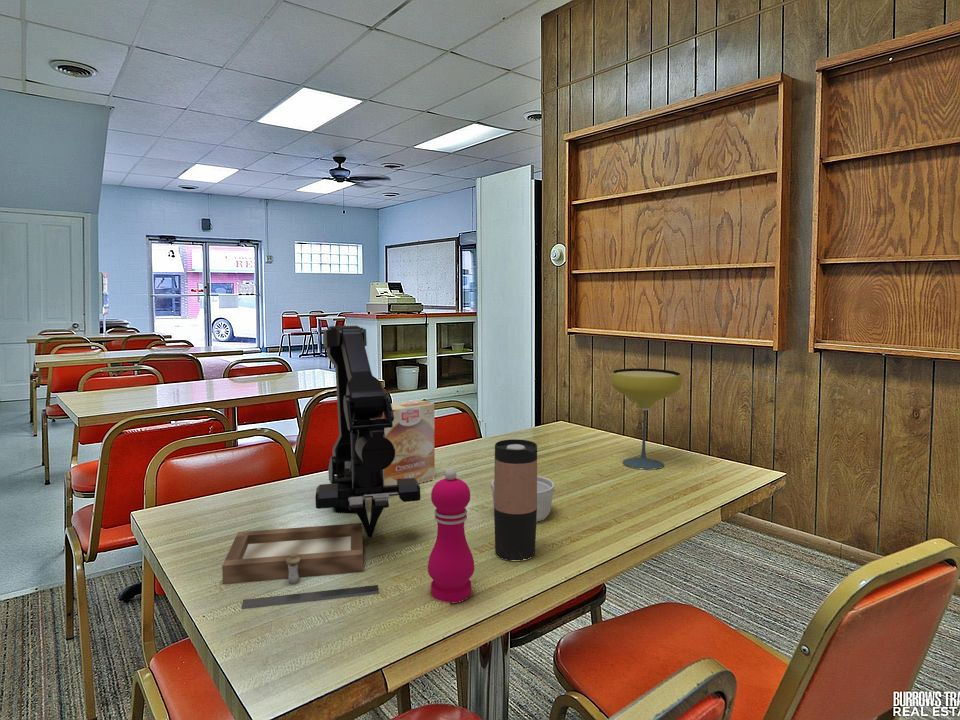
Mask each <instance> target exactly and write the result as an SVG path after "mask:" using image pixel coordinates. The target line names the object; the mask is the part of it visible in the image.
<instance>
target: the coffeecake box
mask: <svg viewBox="0 0 960 720" xmlns="http://www.w3.org/2000/svg"><path fill="white" fill-rule="evenodd" d="M391 406H392V410H393V415H394V420H393V421H392V424H393V427H390V428H384V433H385V436H386V437H387V438H388V439H389V440H390V441H391V443H392V444H393V446H394V448H395V457H394V460H393V462H392V463H391V464H390V465H389V466H388V467H387V468H385V469H383V473H384V486H387V485H397V479H404V478H415V479H416V480H417V481H418V483H420V484H424V483H427V482H426V481H428V482H430V480H432V481H434V480H433V479H435V478H436V476H435V475H436V474H435V469H436V468H435V464H436V461H435V459H436V458H435V457H436V454H435V448H436V447H435V444H436V443H435V429H436V428H435V403H434V402H431V401H426V400H421V399H415V400H408V401H400V402H393V403H391ZM384 418H385V416H384V412H383V416H382V418H377V419H384ZM423 482H424V483H423Z"/></svg>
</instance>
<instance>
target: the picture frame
mask: <svg viewBox="0 0 960 720" xmlns="http://www.w3.org/2000/svg"><path fill="white" fill-rule="evenodd" d="M363 545H364V544H363V524H362V522H357V523H355V522H354V523H345V524H341V523H340V524H332V525H330V524H329V525H317V526H302V527H301V526H300V527H290V528H276V529H263V530H262V529H261V530H249V531H248V530H246V531H237V534H236V535H235V538H234V540H233V542H232V544H231V546H230V549H229V551H228V553H227V555H226V557H225V559H224V561H223V563H222V564H221V570H222V584H223V585H225V584H226V585H227V584H235V583H236V584H237V583H246V582H247V583H248V582H259V581H271V580H283V579H288V564H289V565H293V564H297V563H298V567H299V578H304V577H315V576H316V577H317V576H327V575H337V574H338V575H341V574H348V573H349V574H350V573H361V572H364V550H363V549H364V547H363Z"/></svg>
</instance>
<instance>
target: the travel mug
mask: <svg viewBox="0 0 960 720" xmlns="http://www.w3.org/2000/svg"><path fill="white" fill-rule="evenodd" d="M493 471H494V473H493V474H494V475H493V476H494V477H493V479H494V504H493V512H494V514H493V515H494V519H493V520H494V521H493V523H494V549H495V550H494V553H495V555H496V554H497V555H498V556H499V557H500V559H501V558H503V559H507V560H523V559H528V558H530V557H532V556H533V557H535V554H536V541H537V537H536V536H537V535H536V534H537V522H536V519H537V476H538V445H537V443H536V442H534V441H531V440H527V439H519V438H518V439H514V438H513V439H504V440H503V439H501V440H499V441H497V442H495V444H494V470H493ZM497 555H496V556H497ZM498 556H497V557H498ZM499 557H498V558H499ZM533 557H532V558H533ZM503 559H502V560H503ZM507 560H506V561H507Z"/></svg>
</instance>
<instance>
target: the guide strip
mask: <svg viewBox="0 0 960 720" xmlns="http://www.w3.org/2000/svg"><path fill="white" fill-rule="evenodd" d="M379 594H380V589H379V585H378V584H375V585H374V584H373V585H363V586H356V587H346V588H337V589H329V590H320V591H319V590H317V591H311V592H301V593H292V594H282V595H274V596H264V597H256V598H247V599H243V600H242V603H241V605H240V606H241V607H240V609H241V610H246V609H255V608H263V607H270V606H272V607H274V606H282V605H291V604H299V603H300V604H301V603H308V602H310V603H311V602H317V601H326V600H334V599H344V598H352V597H360V596H361V597H362V596H368V595H379Z"/></svg>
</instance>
